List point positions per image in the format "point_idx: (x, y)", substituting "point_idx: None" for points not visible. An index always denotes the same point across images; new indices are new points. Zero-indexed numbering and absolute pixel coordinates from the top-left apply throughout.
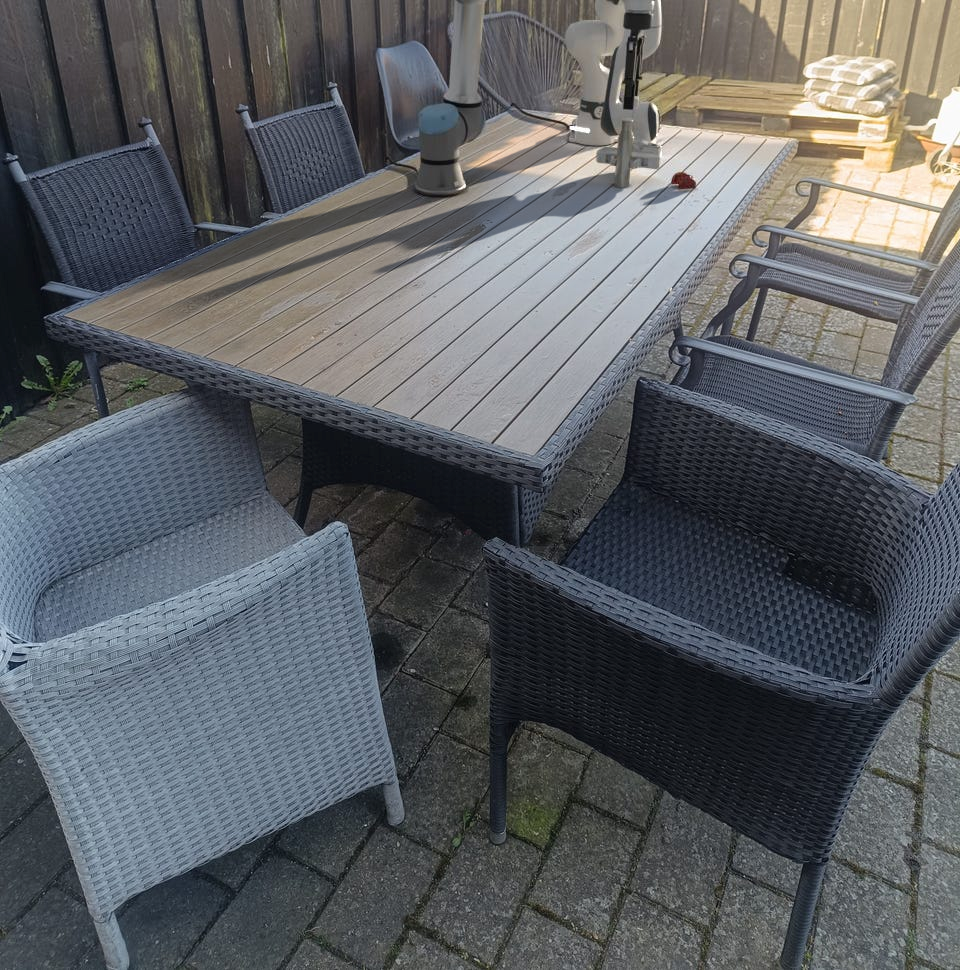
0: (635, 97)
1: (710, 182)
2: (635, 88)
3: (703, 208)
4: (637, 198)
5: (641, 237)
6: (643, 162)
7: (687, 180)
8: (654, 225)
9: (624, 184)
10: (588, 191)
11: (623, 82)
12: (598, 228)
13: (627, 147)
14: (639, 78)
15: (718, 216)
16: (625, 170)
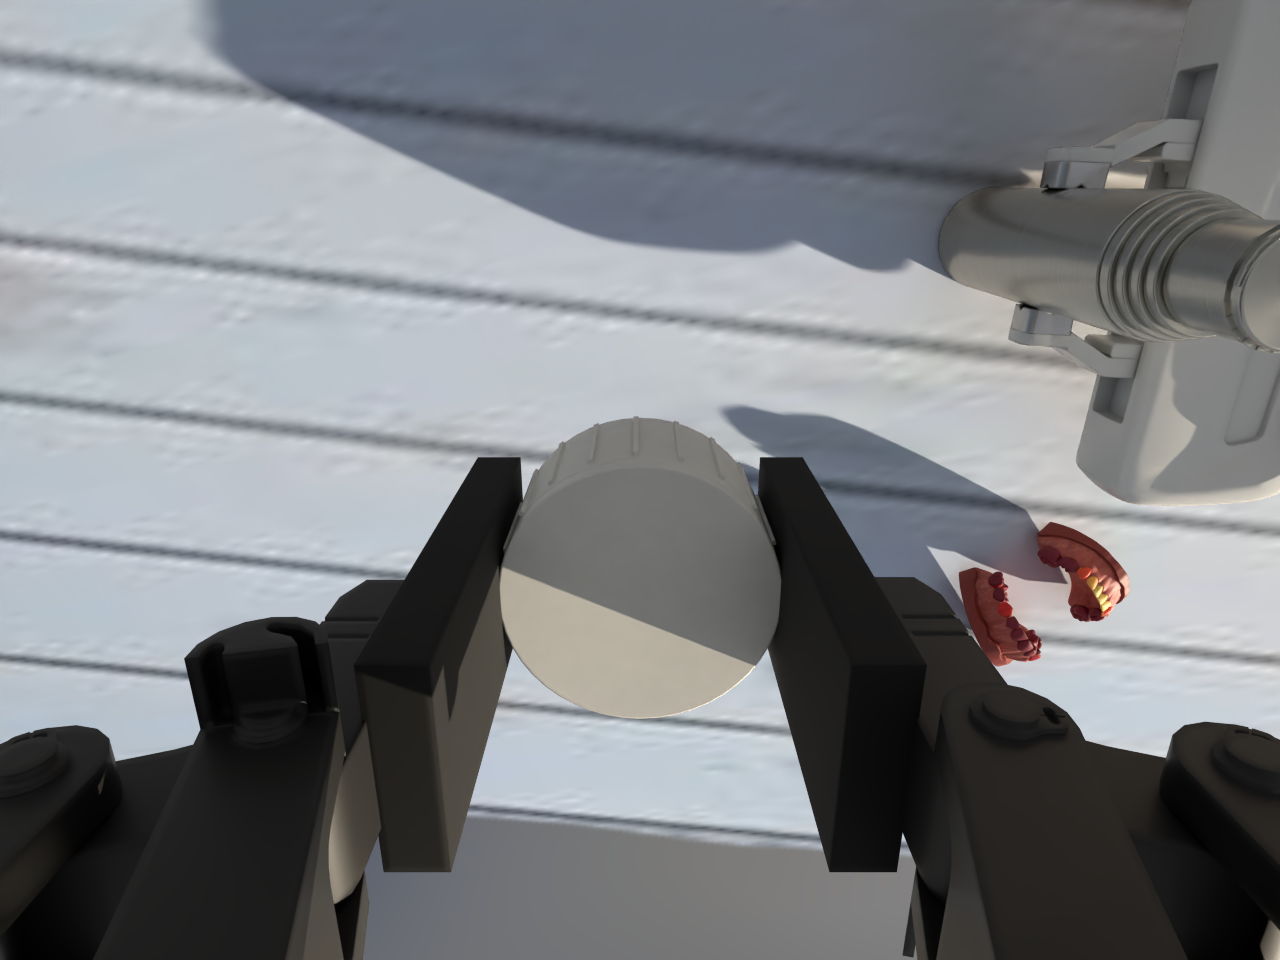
0: (638, 669)
1: (1138, 693)
2: (798, 709)
3: (678, 715)
4: (742, 389)
5: (121, 529)
6: (1130, 381)
7: (976, 636)
8: (324, 553)
9: (951, 268)
10: (799, 45)
11: (214, 664)
12: (127, 295)
13: (1064, 296)
14: (911, 905)
15: (583, 782)
16: (986, 276)
